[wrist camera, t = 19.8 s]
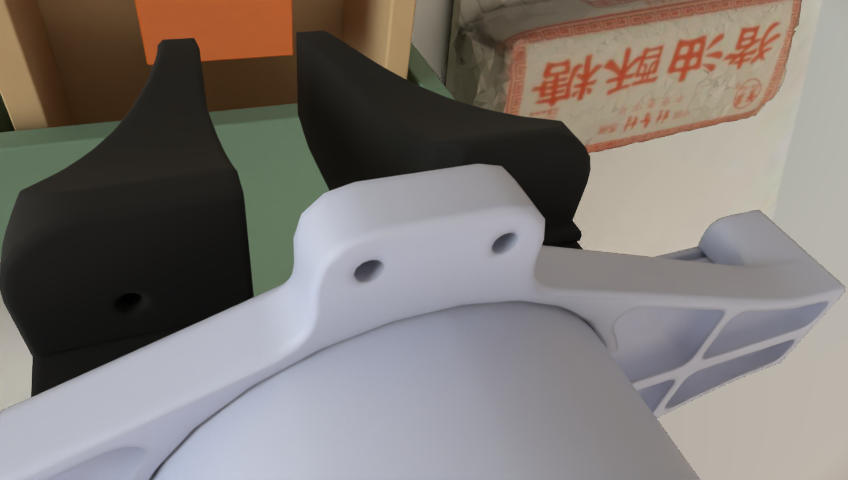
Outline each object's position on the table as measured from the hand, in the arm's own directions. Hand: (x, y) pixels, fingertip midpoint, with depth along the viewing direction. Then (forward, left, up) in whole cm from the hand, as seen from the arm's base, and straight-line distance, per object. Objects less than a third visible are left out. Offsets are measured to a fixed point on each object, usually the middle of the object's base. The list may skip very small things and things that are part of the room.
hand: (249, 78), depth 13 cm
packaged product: (+19, -6, -11) cm, 23 cm away
